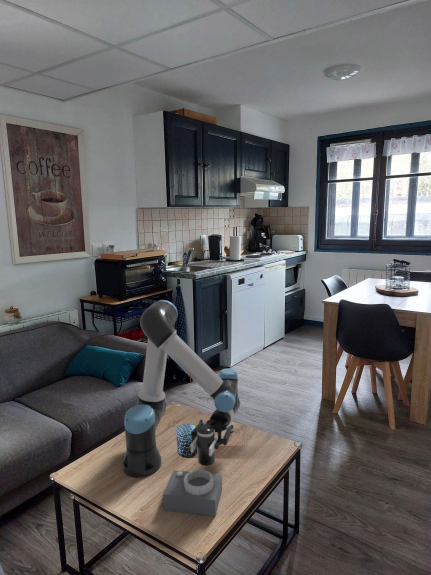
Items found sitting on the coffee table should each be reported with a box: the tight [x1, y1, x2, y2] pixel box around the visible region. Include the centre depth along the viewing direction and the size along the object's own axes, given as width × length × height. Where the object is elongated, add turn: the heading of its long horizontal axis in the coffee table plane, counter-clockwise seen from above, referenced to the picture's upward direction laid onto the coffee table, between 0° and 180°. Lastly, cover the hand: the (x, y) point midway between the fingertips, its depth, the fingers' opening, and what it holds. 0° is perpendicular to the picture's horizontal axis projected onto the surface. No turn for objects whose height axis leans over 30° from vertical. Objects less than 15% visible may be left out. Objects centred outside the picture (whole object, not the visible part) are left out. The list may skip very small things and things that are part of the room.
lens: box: [197, 425, 216, 467], centre depth 138 cm, size 6×6×12 cm
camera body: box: [162, 468, 223, 517], centre depth 138 cm, size 18×13×8 cm
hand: (200, 450), depth 133 cm, fingers closed on lens, 6 cm apart
